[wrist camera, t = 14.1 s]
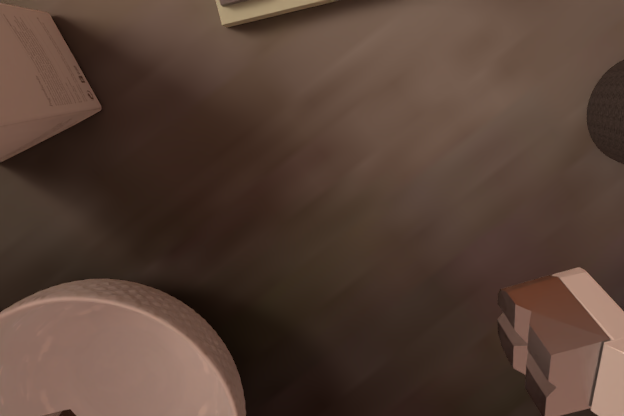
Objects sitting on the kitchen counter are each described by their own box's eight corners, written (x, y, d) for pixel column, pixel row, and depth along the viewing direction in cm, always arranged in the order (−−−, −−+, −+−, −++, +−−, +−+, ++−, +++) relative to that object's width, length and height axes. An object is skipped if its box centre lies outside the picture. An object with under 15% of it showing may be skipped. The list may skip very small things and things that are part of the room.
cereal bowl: (254, 255, 34) (238, 300, 27) (258, 474, 37) (245, 562, 31) (-7, 251, 34) (-90, 295, 27) (24, 470, 38) (-42, 557, 31)
